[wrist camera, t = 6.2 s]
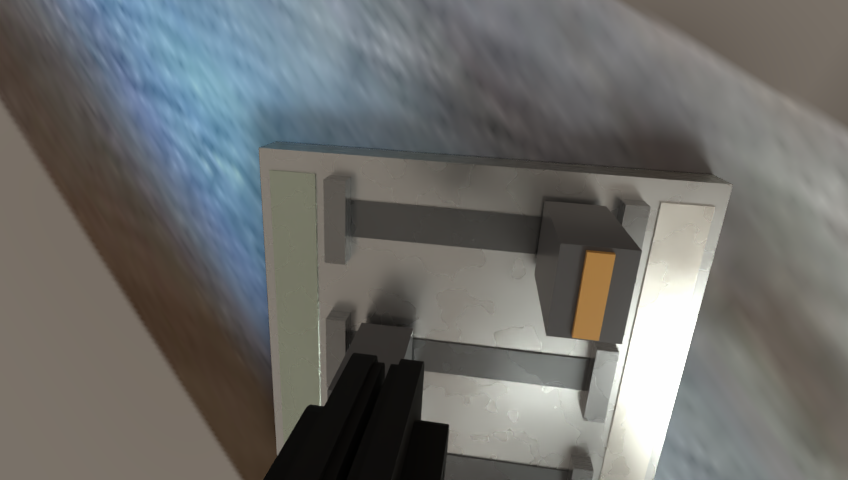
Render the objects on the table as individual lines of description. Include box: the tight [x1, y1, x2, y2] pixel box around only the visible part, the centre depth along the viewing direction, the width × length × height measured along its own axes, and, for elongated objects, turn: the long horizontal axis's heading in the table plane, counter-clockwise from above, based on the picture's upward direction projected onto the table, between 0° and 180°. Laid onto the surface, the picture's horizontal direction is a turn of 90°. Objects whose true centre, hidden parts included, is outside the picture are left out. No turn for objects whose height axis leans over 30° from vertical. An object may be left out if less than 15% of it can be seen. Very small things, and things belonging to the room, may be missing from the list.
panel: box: [259, 141, 733, 480], centre depth 26 cm, size 20×21×3 cm
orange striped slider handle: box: [534, 201, 642, 344], centre depth 19 cm, size 4×3×6 cm
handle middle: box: [327, 323, 413, 400], centre depth 23 cm, size 4×3×6 cm
